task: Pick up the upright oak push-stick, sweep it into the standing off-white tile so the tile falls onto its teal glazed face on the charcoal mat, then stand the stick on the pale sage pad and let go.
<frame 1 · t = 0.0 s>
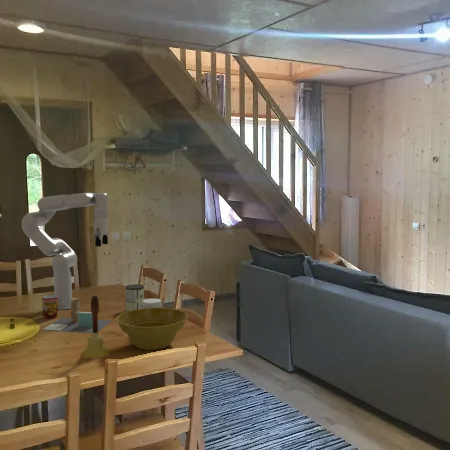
hand: (101, 245, 289), 37 cm above the table, tool pointing down, fingers open, 9 cm apart
mat: (78, 326, 258), on the table
stick: (75, 321, 264), point 1 cm above the table, touching mat
handbell: (95, 353, 220), on the table
tile: (86, 326, 256), point 1 cm above the table, touching mat
canned food: (50, 318, 273), on the table
coffee can: (135, 311, 290), on the table
planter bowl: (152, 345, 231), on the table
supplement tub: (152, 330, 254), on the table
pad: (55, 327, 253), resting on mat
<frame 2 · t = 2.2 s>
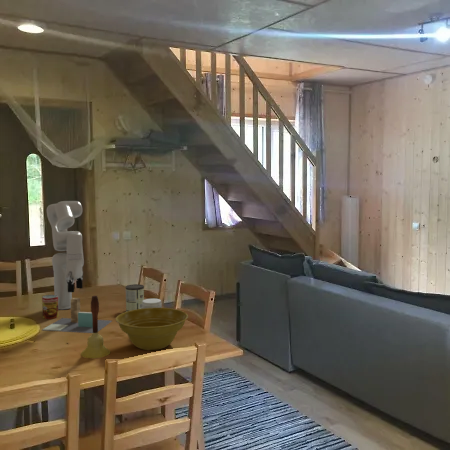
hand: (75, 290, 263), 17 cm above the table, tool pointing down, fingers open, 9 cm apart
nothing on the table moved.
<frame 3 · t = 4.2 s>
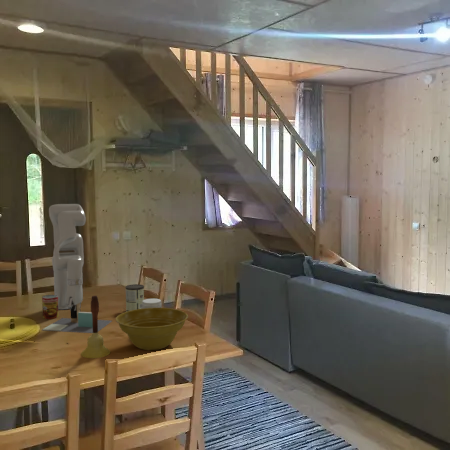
hand: (75, 316, 264), 3 cm above the table, tool pointing down, fingers closed on stick, 3 cm apart
stick: (75, 321, 264), point 1 cm above the table, touching gripper, mat
everything else where it was.
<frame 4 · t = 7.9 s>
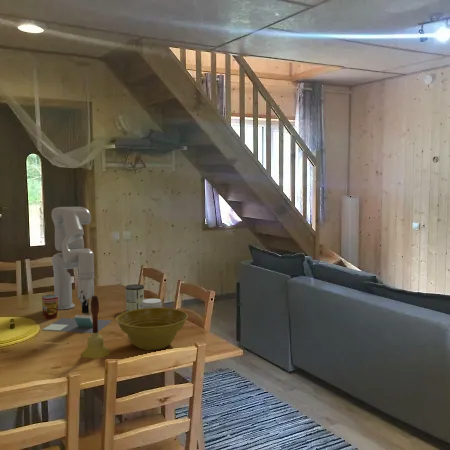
hand: (87, 311, 256), 8 cm above the table, tool pointing down, fingers closed on stick, 3 cm apart
stick: (87, 316, 256), point 6 cm above the table, touching gripper
tile: (86, 325, 256), point 1 cm above the table, tilted 38°, touching mat
everything else where it was.
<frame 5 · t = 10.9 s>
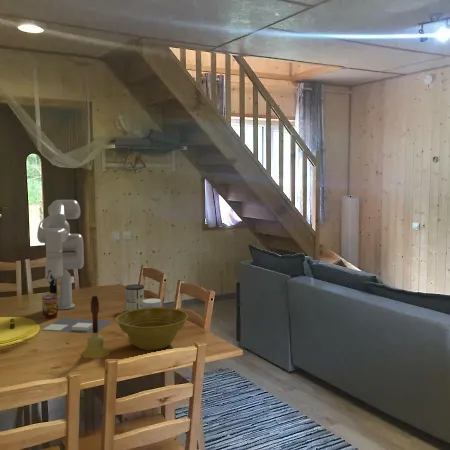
hand: (55, 291, 252), 19 cm above the table, tool pointing down, fingers closed on stick, 3 cm apart
stick: (55, 296, 252), point 16 cm above the table, touching gripper
tile: (85, 325, 255), point 2 cm above the table, tilted 90°, touching mat
everything else where it was.
when the fingers open (5 cm above the table, at t = 13.4 s): stick stays where it is, resting on pad.
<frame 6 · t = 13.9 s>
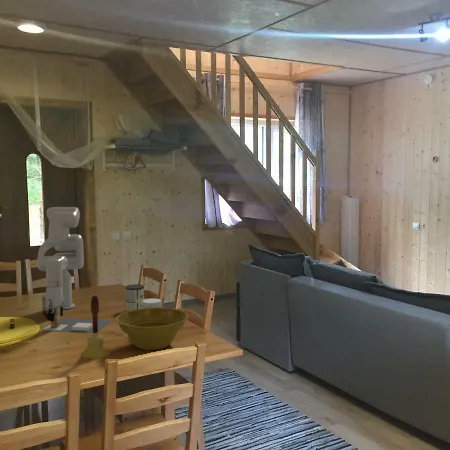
hand: (55, 318, 253), 6 cm above the table, tool pointing down, fingers open, 8 cm apart
stick: (55, 327, 253), point 1 cm above the table, touching pad
everything else where it was.
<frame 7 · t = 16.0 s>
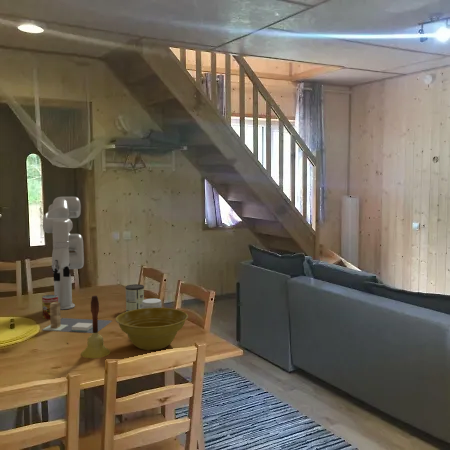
hand: (61, 278, 256), 24 cm above the table, tool pointing down, fingers open, 9 cm apart
nothing on the table moved.
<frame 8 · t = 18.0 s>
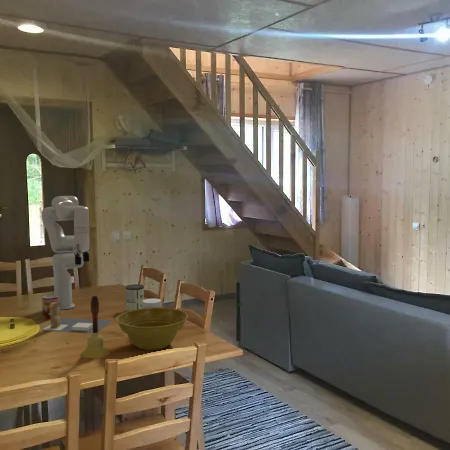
hand: (82, 262, 268), 30 cm above the table, tool pointing down, fingers open, 9 cm apart
nothing on the table moved.
at the end: tile tilted 90°; tile inside the target area (4.1 cm from its centre), point 1.8 cm above the table; stick 0.1 cm from the pad (horizontally) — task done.
